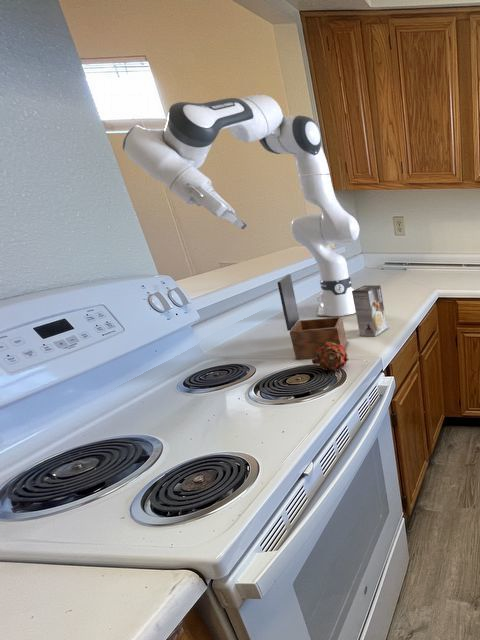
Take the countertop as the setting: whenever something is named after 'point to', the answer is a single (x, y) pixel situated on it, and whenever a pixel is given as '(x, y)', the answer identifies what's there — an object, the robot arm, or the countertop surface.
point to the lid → (288, 301)
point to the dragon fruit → (331, 357)
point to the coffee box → (369, 310)
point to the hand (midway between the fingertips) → (243, 227)
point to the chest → (316, 335)
